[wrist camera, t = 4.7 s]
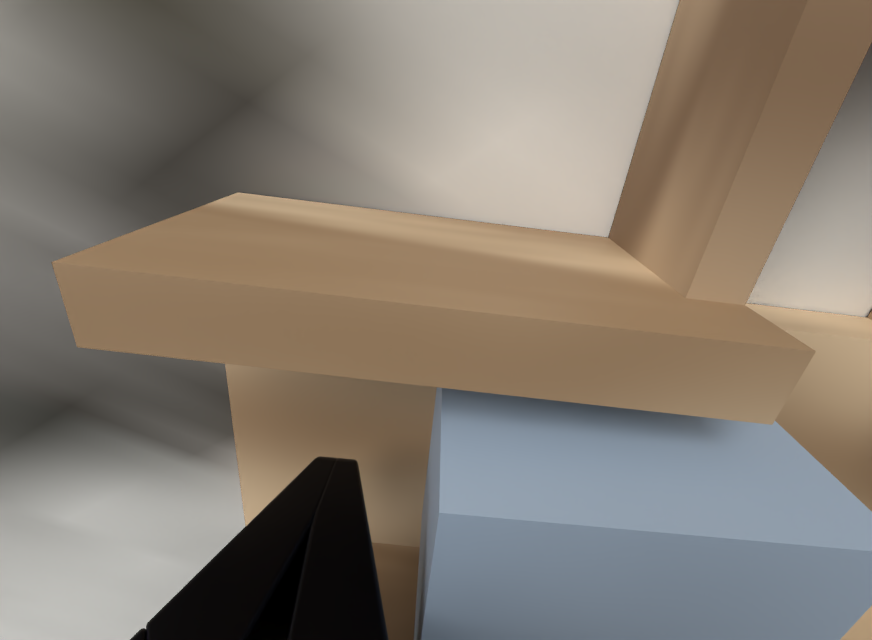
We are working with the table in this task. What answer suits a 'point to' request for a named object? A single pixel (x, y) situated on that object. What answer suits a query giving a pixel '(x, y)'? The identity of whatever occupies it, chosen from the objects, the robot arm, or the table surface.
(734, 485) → the block
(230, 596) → the robot arm
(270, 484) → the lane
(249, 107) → the table surface
